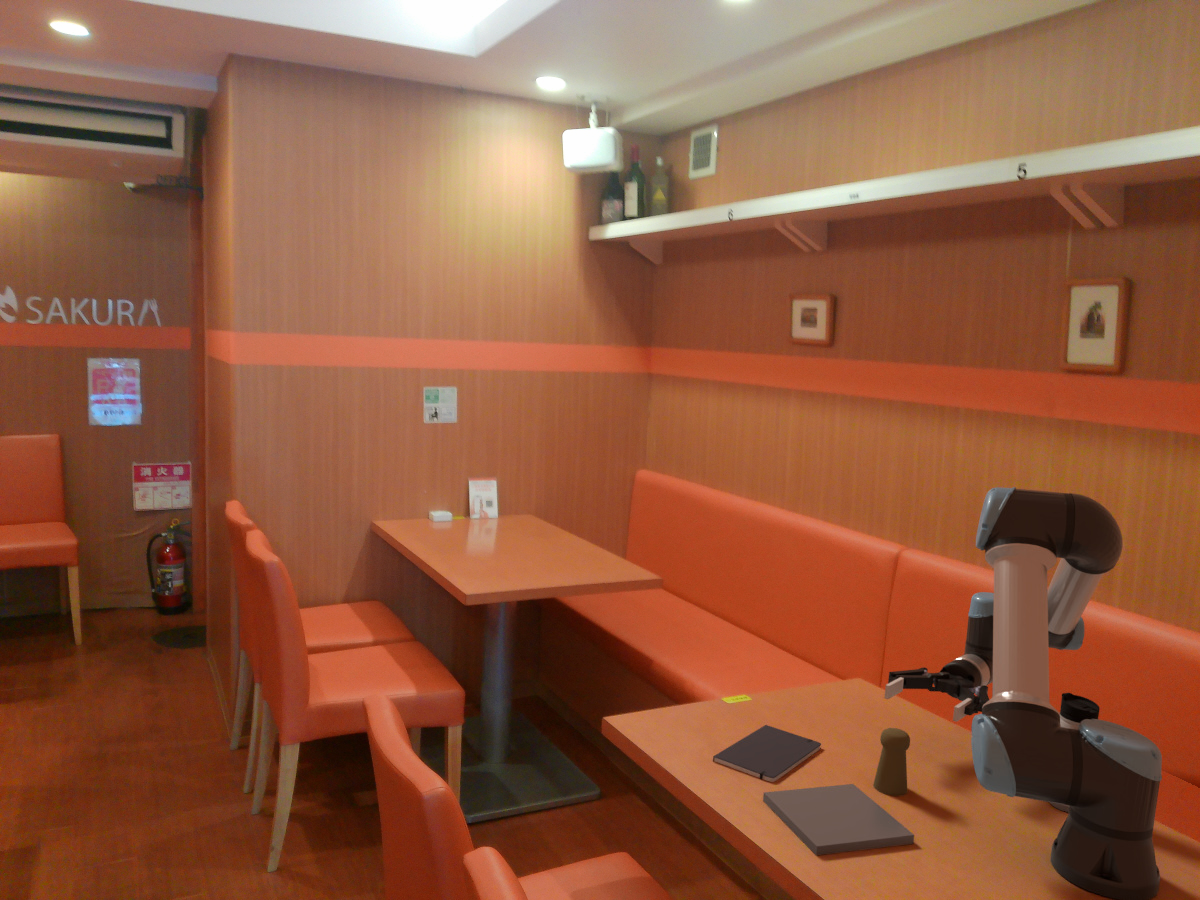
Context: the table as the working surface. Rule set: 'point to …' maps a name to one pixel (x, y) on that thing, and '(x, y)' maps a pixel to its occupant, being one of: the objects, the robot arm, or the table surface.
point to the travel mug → (1075, 719)
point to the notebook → (767, 753)
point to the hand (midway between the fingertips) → (920, 703)
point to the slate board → (837, 819)
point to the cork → (892, 763)
